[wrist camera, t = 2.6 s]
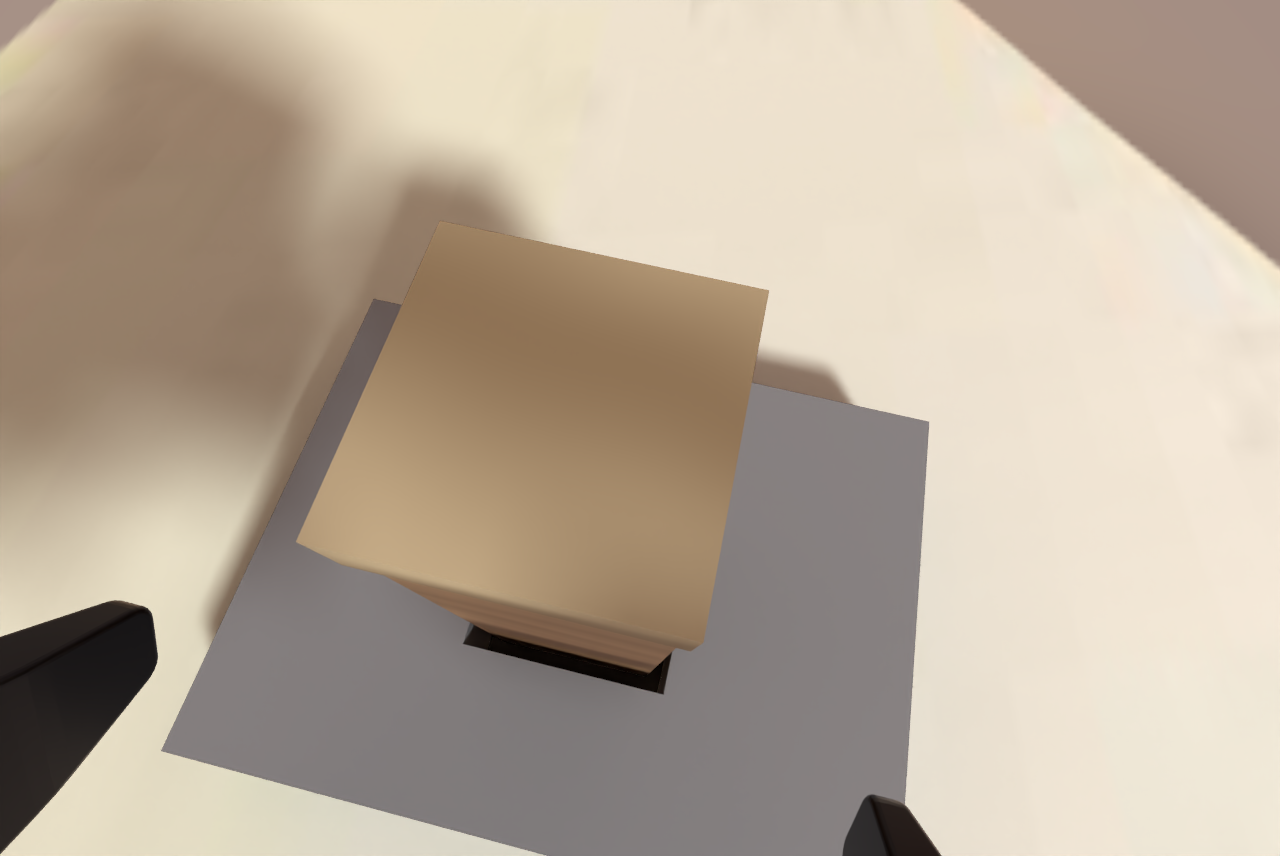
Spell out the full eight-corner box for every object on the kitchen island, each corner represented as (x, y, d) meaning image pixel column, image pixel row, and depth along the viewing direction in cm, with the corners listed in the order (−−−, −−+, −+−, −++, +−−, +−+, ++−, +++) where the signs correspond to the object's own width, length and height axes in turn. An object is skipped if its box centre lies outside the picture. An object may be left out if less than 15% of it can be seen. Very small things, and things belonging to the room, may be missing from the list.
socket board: (847, 907, 16) (895, 950, 13) (235, 743, 17) (161, 751, 14) (887, 459, 21) (929, 421, 18) (405, 350, 22) (373, 298, 19)
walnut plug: (648, 681, 18) (704, 642, 6) (500, 644, 18) (295, 541, 7) (679, 534, 19) (768, 290, 8) (543, 502, 20) (440, 220, 8)
